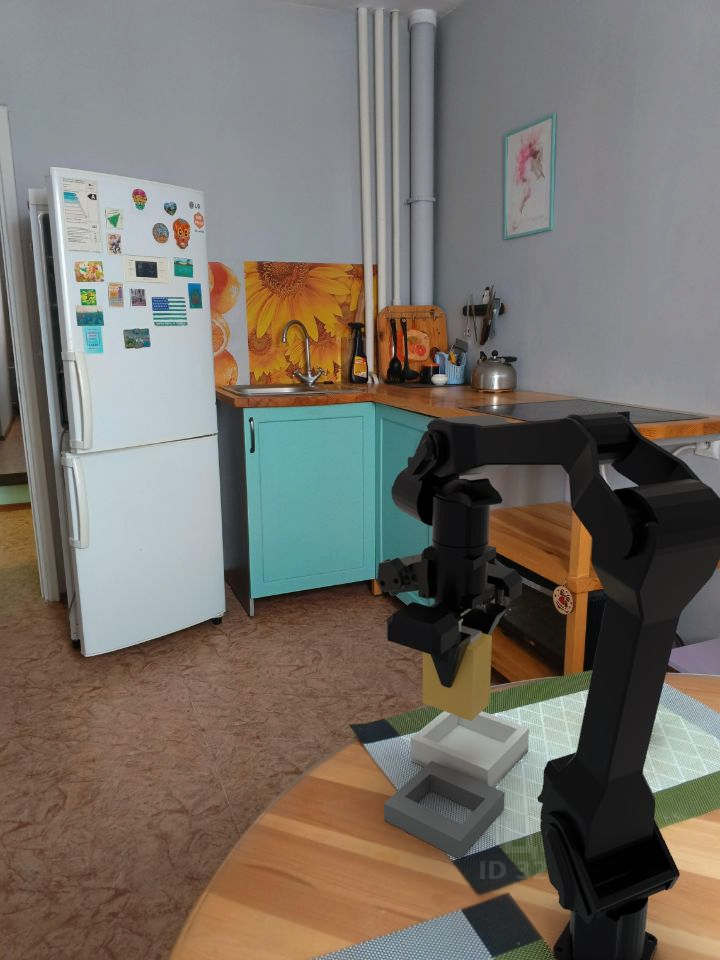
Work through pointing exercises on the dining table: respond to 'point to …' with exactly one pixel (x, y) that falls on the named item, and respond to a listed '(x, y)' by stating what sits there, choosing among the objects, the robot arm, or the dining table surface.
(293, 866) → the dining table surface
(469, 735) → the tray
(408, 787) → the grey square frame
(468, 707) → the block
